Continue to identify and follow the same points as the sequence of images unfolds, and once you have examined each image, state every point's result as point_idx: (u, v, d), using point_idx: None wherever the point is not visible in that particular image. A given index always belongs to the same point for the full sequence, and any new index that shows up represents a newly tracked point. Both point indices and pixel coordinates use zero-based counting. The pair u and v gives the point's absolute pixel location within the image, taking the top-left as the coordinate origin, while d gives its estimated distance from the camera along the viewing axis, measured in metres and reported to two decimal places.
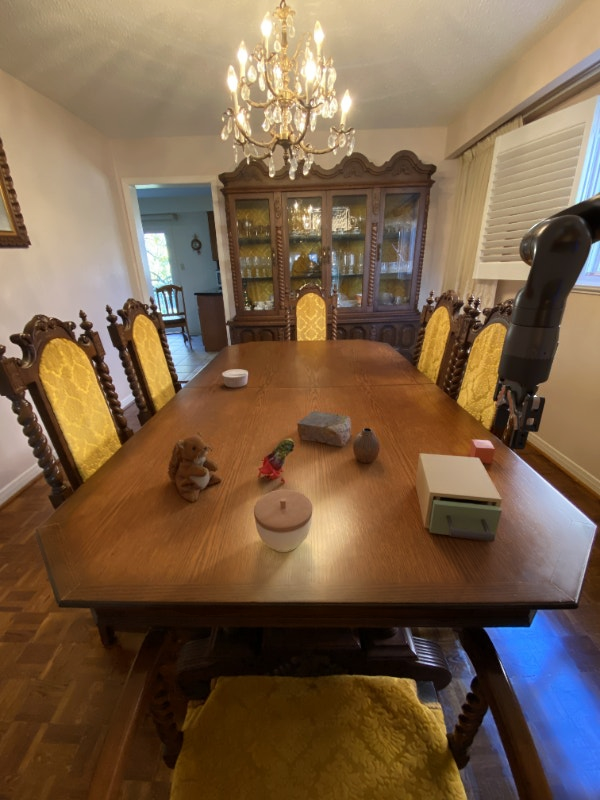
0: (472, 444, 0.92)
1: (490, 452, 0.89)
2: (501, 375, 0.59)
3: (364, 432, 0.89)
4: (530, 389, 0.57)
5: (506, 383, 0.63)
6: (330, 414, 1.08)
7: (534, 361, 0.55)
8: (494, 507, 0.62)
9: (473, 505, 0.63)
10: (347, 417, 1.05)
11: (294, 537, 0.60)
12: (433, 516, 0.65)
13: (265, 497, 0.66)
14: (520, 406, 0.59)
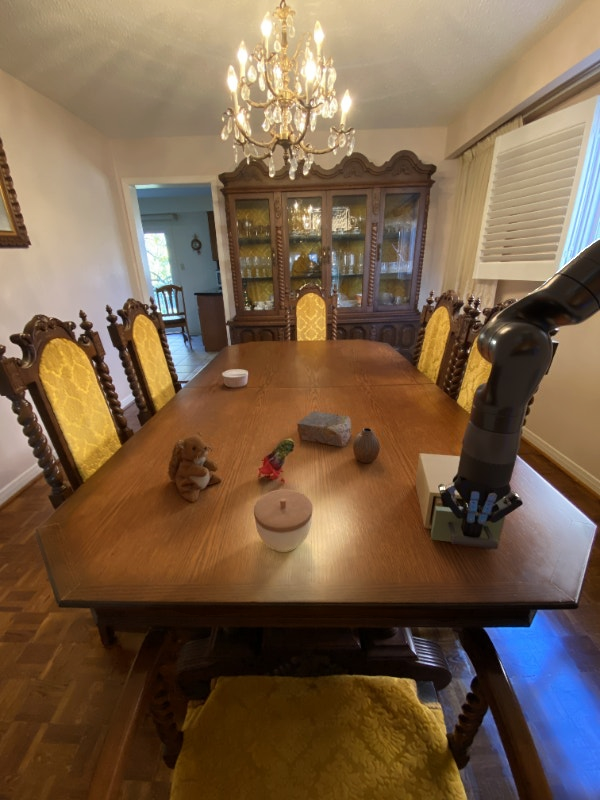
0: None
1: None
2: None
3: (364, 432, 0.89)
4: (457, 476, 0.56)
5: None
6: (330, 414, 1.07)
7: (462, 450, 0.55)
8: None
9: None
10: (347, 417, 1.05)
11: (294, 537, 0.60)
12: (435, 522, 0.63)
13: (265, 497, 0.66)
14: None
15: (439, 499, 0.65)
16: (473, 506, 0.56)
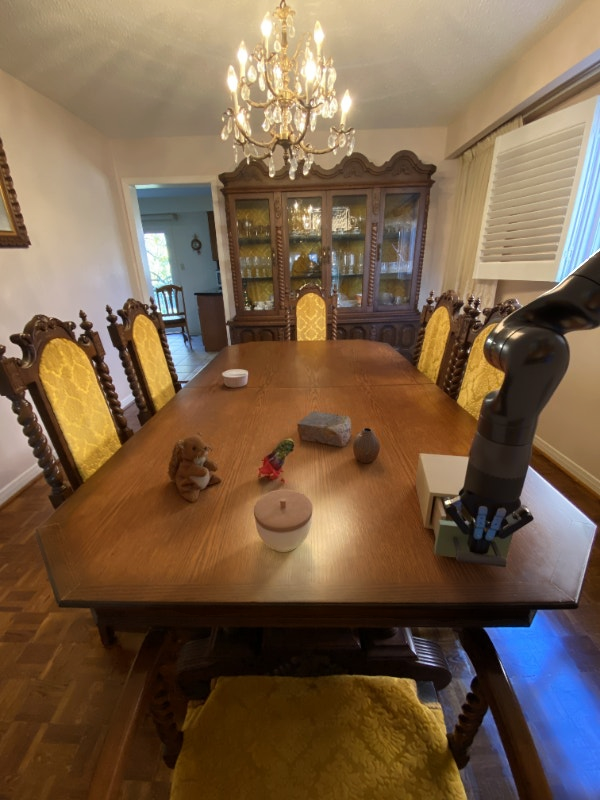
0: None
1: None
2: None
3: (364, 432, 0.89)
4: (464, 490, 0.53)
5: None
6: (330, 414, 1.07)
7: (468, 462, 0.52)
8: None
9: None
10: (347, 417, 1.05)
11: (294, 537, 0.60)
12: (438, 537, 0.60)
13: (265, 497, 0.66)
14: None
15: (443, 512, 0.62)
16: (481, 521, 0.53)
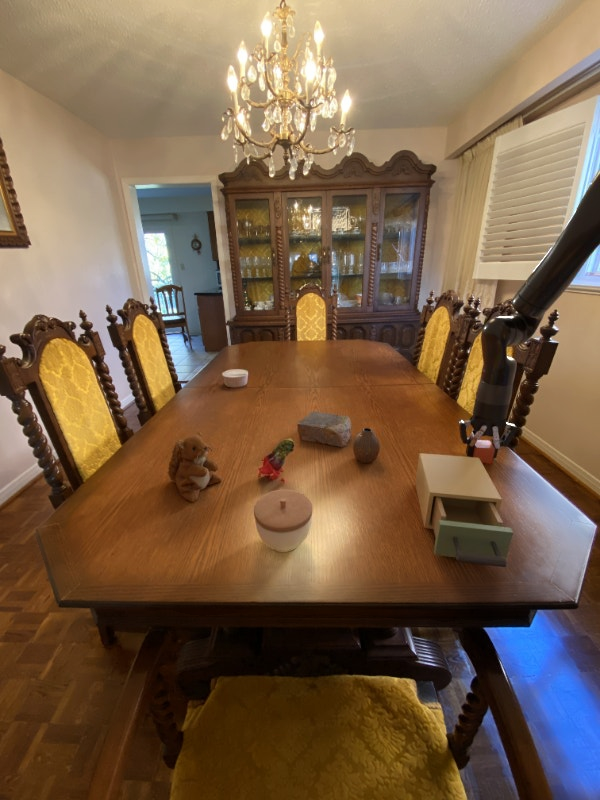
0: None
1: (490, 452, 0.89)
2: None
3: (364, 432, 0.89)
4: (473, 417, 0.88)
5: None
6: (330, 414, 1.07)
7: (475, 399, 0.87)
8: (505, 528, 0.57)
9: (482, 526, 0.58)
10: (347, 417, 1.05)
11: (294, 537, 0.60)
12: (438, 537, 0.60)
13: (265, 497, 0.66)
14: (473, 429, 0.90)
15: (443, 512, 0.62)
16: (479, 435, 0.88)
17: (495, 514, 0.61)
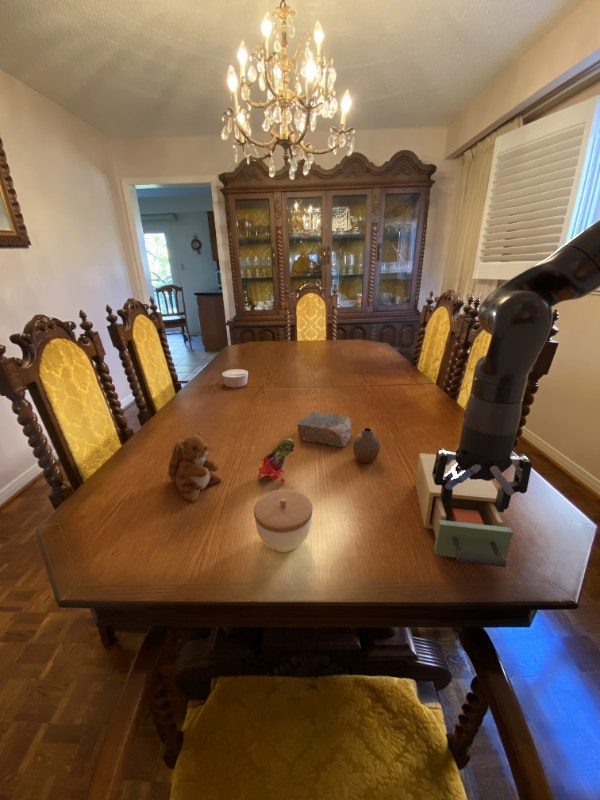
0: (453, 516, 0.63)
1: None
2: None
3: (364, 432, 0.89)
4: (459, 450, 0.57)
5: None
6: (330, 415, 1.07)
7: (463, 424, 0.55)
8: (505, 528, 0.57)
9: (482, 526, 0.58)
10: (347, 417, 1.05)
11: (294, 537, 0.60)
12: (438, 537, 0.60)
13: (265, 497, 0.66)
14: None
15: (443, 512, 0.62)
16: (464, 476, 0.56)
17: (495, 514, 0.61)
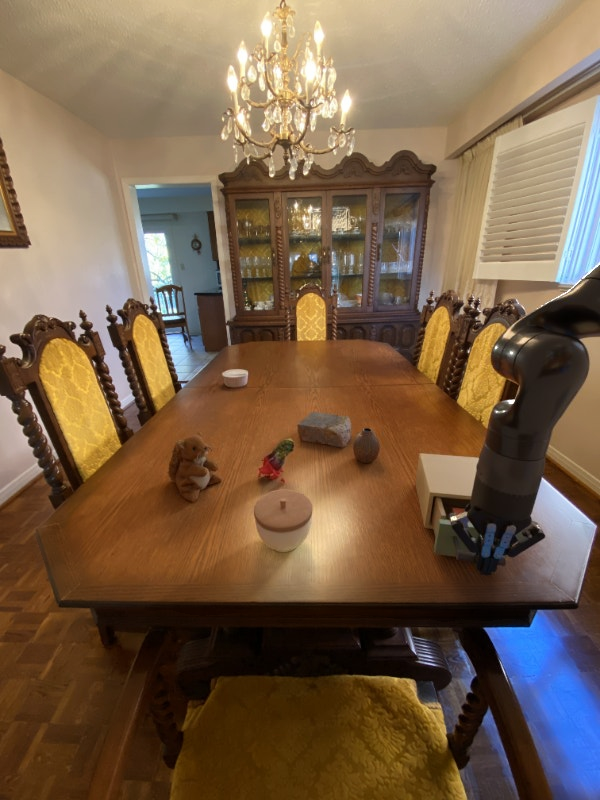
0: None
1: None
2: None
3: (364, 432, 0.89)
4: (471, 506, 0.50)
5: None
6: (330, 415, 1.07)
7: (476, 477, 0.48)
8: None
9: None
10: (347, 418, 1.05)
11: (294, 537, 0.60)
12: (438, 536, 0.60)
13: (265, 497, 0.66)
14: None
15: (443, 511, 0.62)
16: (489, 539, 0.49)
17: None
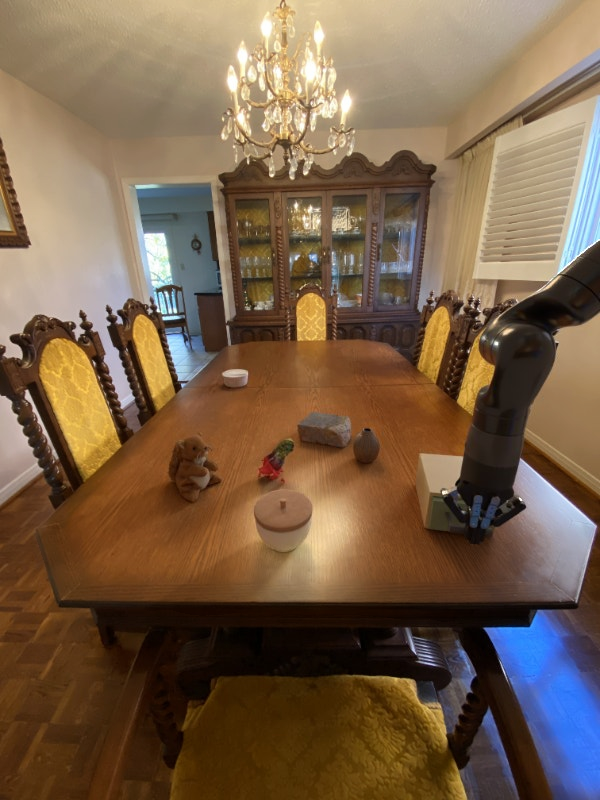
0: None
1: None
2: None
3: (364, 432, 0.89)
4: (460, 480, 0.56)
5: None
6: (330, 415, 1.07)
7: (464, 454, 0.54)
8: None
9: None
10: (347, 418, 1.05)
11: (294, 537, 0.60)
12: (432, 512, 0.66)
13: (265, 497, 0.66)
14: None
15: None
16: (476, 510, 0.55)
17: None
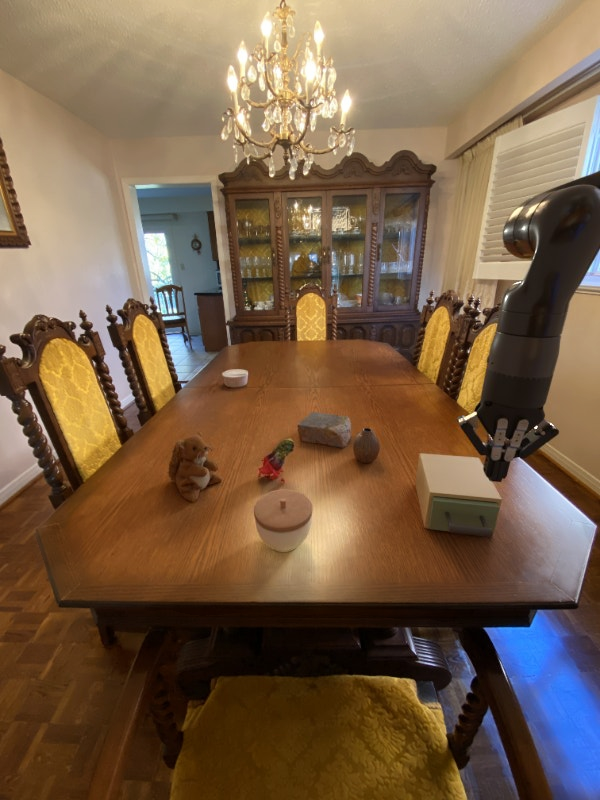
0: None
1: None
2: None
3: (364, 432, 0.89)
4: (481, 403, 0.48)
5: None
6: (330, 415, 1.07)
7: (486, 370, 0.46)
8: (492, 503, 0.63)
9: (472, 502, 0.64)
10: (347, 418, 1.05)
11: (294, 537, 0.60)
12: (432, 512, 0.66)
13: (265, 497, 0.66)
14: None
15: None
16: (500, 438, 0.47)
17: None
